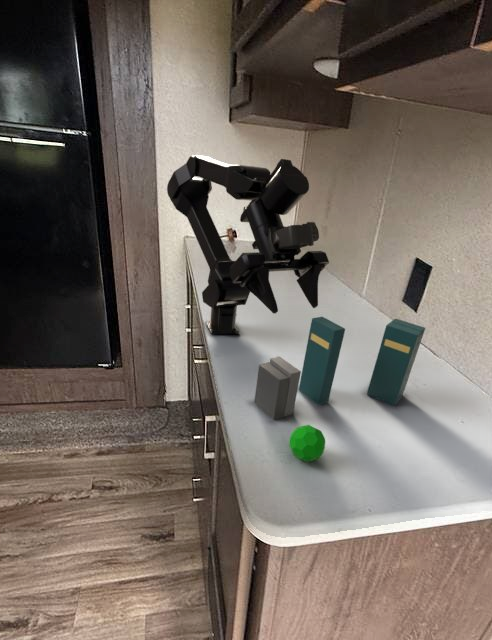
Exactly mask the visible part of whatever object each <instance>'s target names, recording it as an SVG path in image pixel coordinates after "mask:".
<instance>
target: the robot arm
mask: <svg viewBox="0 0 492 640" xmlns="http://www.w3.org/2000/svg"><path fill="white" fill-rule="evenodd" d="M213 183H214V184H217V185H219V186H222V187H224V188H225V192H227V194H229V195H230V196H231V197H232V198H234V199H235V200H238V201H250V202H249V203H248V205H247V206H244V207H243V210H242V212H241V214H240V219H239V221H240V222H241V223H248V224H249V227H250V231H251V233H252V235H253V239H254V241H253V242H252V243H251V246H252V249H253V250H258V252H241V254H239V256H238V258H237V259H235V260H232V259H231V257H230V255H229V253H228V251H227V249H226V246H225V245H224V242H223V240H222V238H221V236H220V233H219V232H218V229H217V226H216V225H215V223H214V220H213V217H212V216H211V213H210V212H209V209H208V203H209V197H210V196H209V195H210V193H211V191H213V185H212V184H213ZM309 190H310V183H309V180H308V177H307V176H306V175H305V174H304V173H303V172H302V171H301V170H300V169H299V168H298V167H296V166H295V165H293V163H292V160H291V159H285V158H280V159H279V161H278V162H277V163H276V166H275V168H274V169H273V170H272V172H271V171H270V169H268V168H267V167H260V166H253V165H246V164H244V165H243V164H229V163H226V162H223V161H219V160H217V159H213V158H212V157H210V156H206V155H198V154H193V155H190V156H189V157H188V159H187V161H186V163H184V164H183V165H182V166H180V167H179V168H176V170H174V171H173V173H172V174H171V176H170V178H169V180H168V182H167V186H166V192H167V196H168V198H169V199H170V201H171V203H172V205H173V206H174V209H175V210H176V211H178V212H180V214H182V215H183V216H184V217H186V219H187V220H188V223H189V225H190V227H191V229H192V232H193V233H194V236H195V238H196V240H197V244H198V245H199V247H200V250H201V252H202V254H203V257H204V258H205V261H206V263H207V265H208V269H209V274H208V278H207V284H208V285H207V286H206V287H205V288H204V290H203V291H201V296H202V297H201V298H202V302H203V303H204V304H205V305H206V306H208V307H210V320H207V321H206V322H205V323H206V326H207V328H208V330H209V332H210V334H211V335H239V334H240V330H239V329H238V327H237V325H236V322H237V310H238V306H245V305H247V301H248V299H249V296H250V293H251V294H253V296H255V298H257V299H258V300H259V301H260V302H261V303H262V304H263V305H264V306H265V307H266V308H267V309H268V310H269V311H270V312H271V313H272V314H277V313H278V312H279V308H278V304H277V300H276V297H275V295H274V292H273V288H272V285H271V283H270V272H285V271H286V272H289V271H293V272H294V275H295V276H296V277H297V279H296V283H297V285H298V286H299V288H300V289H301V291H302V293H303V294H304V296H305V298H306V299H307V302H308V303H309V304H310V306H311V307H312V308H313V309H316V308H317V307H318V306H319V276H320V274H321V272H323V270H325V268H326V266H327V265H329V264H330V260H329V258H328V256H327V252H325V251H322V250H308V251H306V252H305V253H304V254H303V255H302V256H301V257H299V258H296V257H295V256H298V255H299V254H301V252H302V250H301V248H305V247H308V246H309V247H312V246H314V245H315V243H314V242H318V241H319V239H320V232H319V228H318V226H317V225H316V223H315V222H314V221H307V222H306V223H302V224H291V225H288V226H284V223H283V220H282V218H281V216H285V215H288V214H289V213H290V212H291V211H292V210H293V209H294V207H295V206H296V205H298V203H299V202H300V201H301V200H302V198H303V197H304V196H305V195H306V194H307V193H308V192H309Z"/></svg>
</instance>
